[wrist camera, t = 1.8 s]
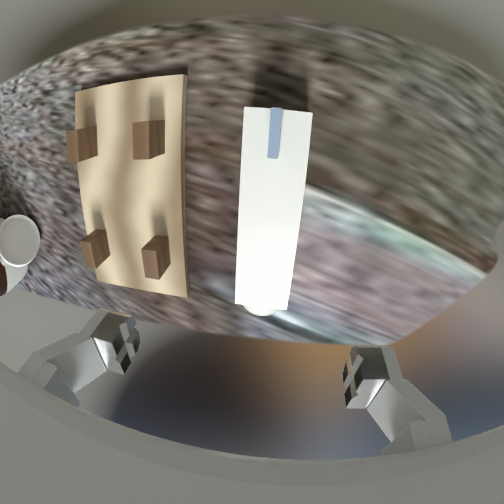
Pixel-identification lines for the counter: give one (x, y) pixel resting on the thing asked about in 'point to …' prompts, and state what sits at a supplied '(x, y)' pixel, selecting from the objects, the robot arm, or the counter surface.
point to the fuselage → (270, 205)
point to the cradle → (133, 182)
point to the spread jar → (16, 249)
